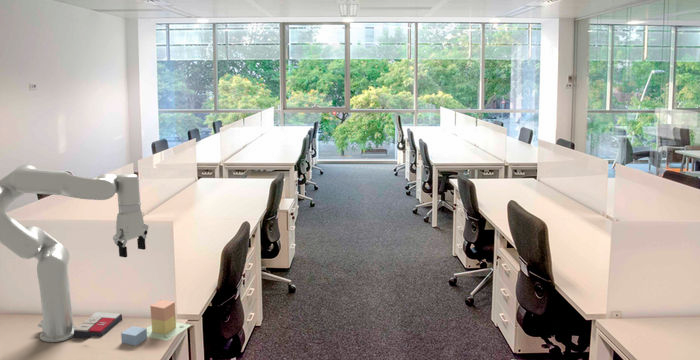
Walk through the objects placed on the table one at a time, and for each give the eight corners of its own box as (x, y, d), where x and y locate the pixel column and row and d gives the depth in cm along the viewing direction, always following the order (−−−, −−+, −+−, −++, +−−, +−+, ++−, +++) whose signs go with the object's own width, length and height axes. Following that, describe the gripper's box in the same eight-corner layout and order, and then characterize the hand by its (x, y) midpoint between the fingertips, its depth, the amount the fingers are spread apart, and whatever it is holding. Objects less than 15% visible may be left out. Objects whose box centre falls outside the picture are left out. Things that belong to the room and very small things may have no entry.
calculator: (72, 329, 215) (95, 310, 230) (74, 340, 217) (96, 320, 231) (101, 331, 214) (122, 312, 228) (102, 342, 215) (123, 322, 230)
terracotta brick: (151, 318, 218) (150, 305, 217) (162, 312, 223) (161, 299, 222) (164, 321, 216) (163, 308, 215) (175, 315, 221) (174, 302, 220)
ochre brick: (152, 331, 219) (151, 318, 218) (162, 324, 224) (162, 312, 223) (165, 334, 217) (164, 321, 216) (176, 327, 222) (175, 315, 221)
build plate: (135, 337, 217) (135, 333, 217) (161, 321, 230) (161, 318, 229) (167, 344, 212) (167, 340, 211) (191, 328, 224) (191, 324, 224)
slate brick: (122, 346, 210) (121, 333, 209) (133, 339, 216) (132, 326, 215) (136, 349, 208) (135, 335, 207) (147, 341, 214) (146, 328, 213)
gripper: (137, 201, 228) (140, 245, 231) (103, 212, 212) (107, 258, 215) (153, 203, 225) (156, 247, 228) (120, 214, 209) (124, 261, 213)
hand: (132, 252), depth 222 cm, fingers open, 9 cm apart
